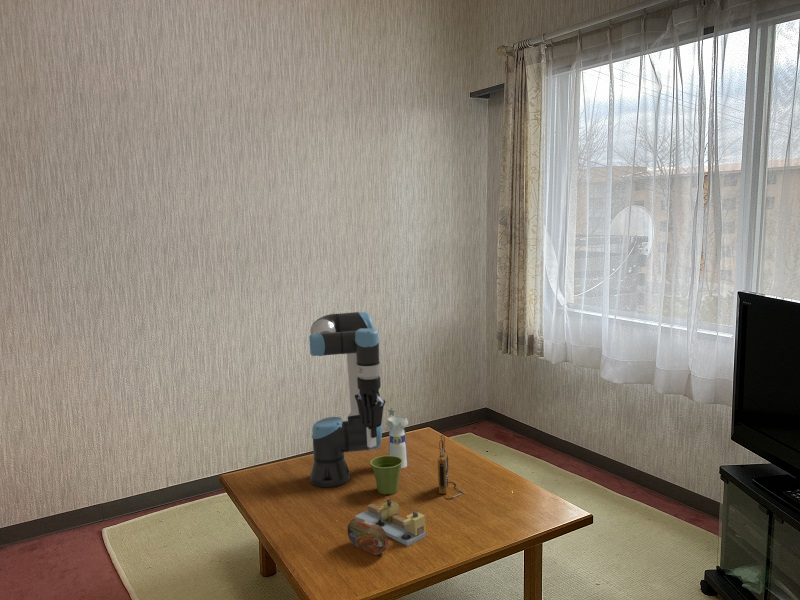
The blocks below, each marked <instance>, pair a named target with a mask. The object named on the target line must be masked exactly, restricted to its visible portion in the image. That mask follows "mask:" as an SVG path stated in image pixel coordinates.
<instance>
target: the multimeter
mask: <svg viewBox="0 0 800 600" xmlns="http://www.w3.org/2000/svg"><path fill="white" fill-rule="evenodd" d="M442 437H443V438H442ZM440 438H441V439H440V440H439V448H441V451H439V455H438V458H437V466H438V467H437V471H438V472H437V473H438V474H437V475H438V476H437V477H438V479H437V480H438V494H441V495H442V496H443V498H444V499H446V500H451V499H454V498H456V497H459V495H462V494H463V493H464V494H466V495H467V493H466V492H465V491H464V490H461V489H459V488H456V487H457V483H455V482H452V481H449V480H450V478H449V474H450V473H449V452H446V451H445V447H444V442H445V440H446V439H445V438H446V437H445V435H444V434H442V435H441V436H440ZM451 483H452V484H454V486H453V488H454V489H455V490H457V491H459V492H461V493H459V494H458V493H457V494H456V495H454V496H452V497H451V498H447V497H445V495H447V494H448V489H449V487H450V484H451Z"/></svg>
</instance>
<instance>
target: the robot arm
mask: <svg viewBox="0 0 800 600" xmlns="http://www.w3.org/2000/svg"><path fill="white" fill-rule="evenodd" d="M309 331H310V335H309V336H308V338H309V340H308V341H309V342H308V343H309V353H310V356H312V357H316V356H317V357H324V356H333V355H346V363H347V364H346V365H347V376H348V390H349V400H350V401H349V402H350V413H349V414H348V415H347V417H346V418H347V420H343V418H341V417H339V416H330V417H325V418H322V419H319V420H318V421H316V422H315V423H313V426H312V429H311V431H312V434H311V439H312V451H313V452H312V453H313V463H312V467H311V471H310V475H309V476H310V477H309V479H310V483H311V485H313V486H315V487H319V488H335V487H339V486H341V485H345V484H346V483H347V482H348V481H350V479H351V473H350V469H349V467H348V464H347V462H346V459H345V453H352V452H361V451H371V450H377V449H379V448H380V446H381V444H382V436H383V414H384V413H383V412H384V406H385V404H386V400H385V399H382V398H381V395H380V394H381V393H380V391H379V390H380V389H381V387H382V385H381V383H382V381H381V365H380V364H381V362H380V338H379V331H378V330H377V329H375V328H374V325H373V320H372V317H371V315H370V314H369V313H368V312H364V311H356V312H342V313H341V312H340V313H329V314H326V315H323V316H321V317H319V318H317V319H316V320H314V322H313V323H312V324H311V325H310V330H309Z"/></svg>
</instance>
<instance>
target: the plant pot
mask: <svg viewBox="0 0 800 600" xmlns="http://www.w3.org/2000/svg"><path fill="white" fill-rule="evenodd" d="M402 462H403V460H402V459H401V458H400V457H397V456H389V455H380V456H377V457H376V456H375V457H374V458H372V459H371V460H370V462H369V464H370V466H371V468H372V470H373V473H374V479H375V483H376V488H377V491H378V493H379V494H381V495H393V494H395V493H397V492H398V490H399V481H400V475H401V469H402V468H401V464H402Z"/></svg>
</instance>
